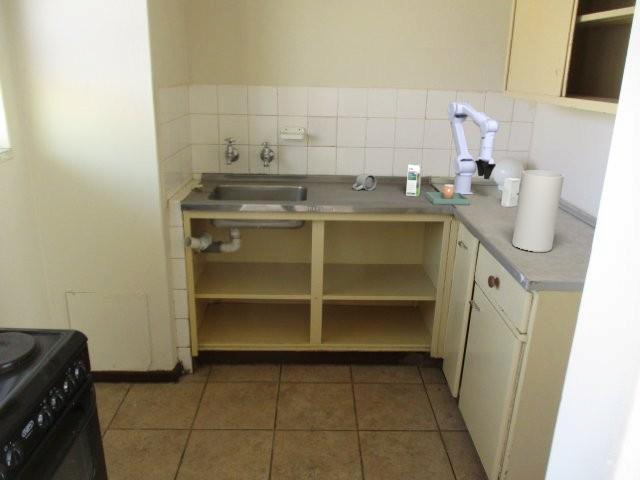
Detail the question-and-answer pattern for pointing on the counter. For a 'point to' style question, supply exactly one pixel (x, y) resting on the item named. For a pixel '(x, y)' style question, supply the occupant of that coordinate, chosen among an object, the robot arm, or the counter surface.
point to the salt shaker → (448, 191)
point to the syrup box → (413, 180)
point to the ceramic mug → (365, 182)
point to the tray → (437, 199)
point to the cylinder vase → (537, 210)
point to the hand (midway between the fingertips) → (483, 177)
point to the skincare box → (510, 192)
